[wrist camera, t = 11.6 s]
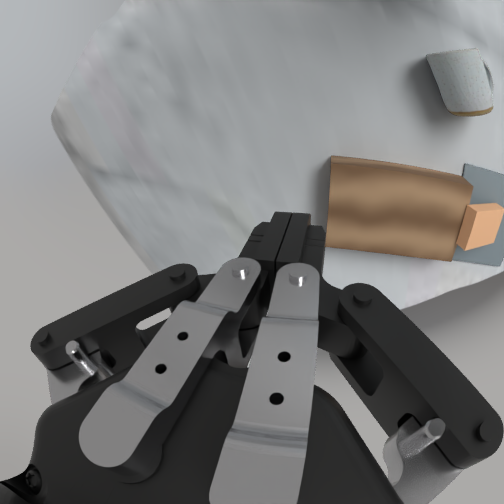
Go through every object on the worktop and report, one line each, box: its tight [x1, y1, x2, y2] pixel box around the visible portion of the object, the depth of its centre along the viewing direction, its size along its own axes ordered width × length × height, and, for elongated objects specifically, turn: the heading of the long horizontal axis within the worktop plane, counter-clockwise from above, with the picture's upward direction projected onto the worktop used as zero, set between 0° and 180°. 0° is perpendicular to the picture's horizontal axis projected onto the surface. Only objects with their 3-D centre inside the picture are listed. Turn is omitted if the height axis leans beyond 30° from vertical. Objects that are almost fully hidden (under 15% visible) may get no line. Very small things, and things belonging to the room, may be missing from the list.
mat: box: [452, 164, 504, 266], centre depth 30 cm, size 16×14×1 cm
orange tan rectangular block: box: [456, 203, 504, 251], centre depth 28 cm, size 6×9×2 cm, turn 94°
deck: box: [325, 156, 474, 262], centre depth 33 cm, size 12×20×4 cm, turn 94°
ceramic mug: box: [426, 48, 493, 116], centre depth 18 cm, size 11×8×8 cm
